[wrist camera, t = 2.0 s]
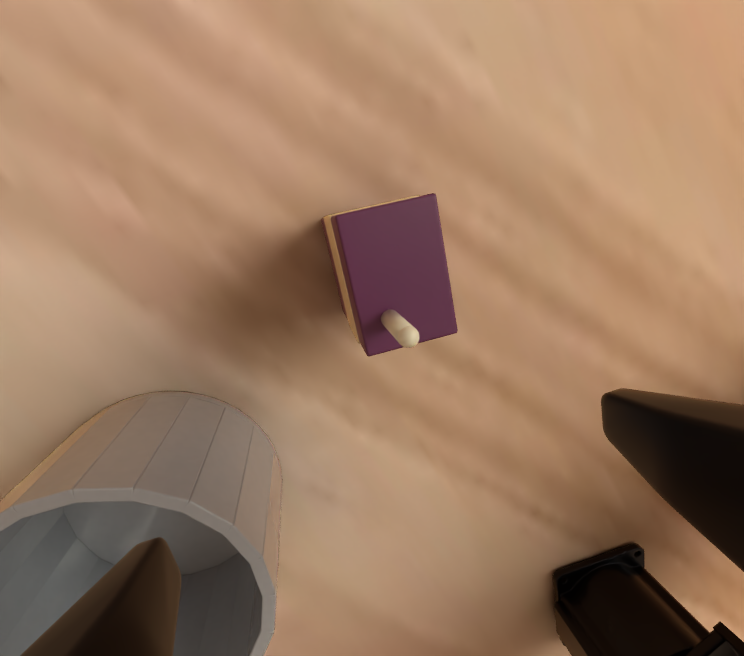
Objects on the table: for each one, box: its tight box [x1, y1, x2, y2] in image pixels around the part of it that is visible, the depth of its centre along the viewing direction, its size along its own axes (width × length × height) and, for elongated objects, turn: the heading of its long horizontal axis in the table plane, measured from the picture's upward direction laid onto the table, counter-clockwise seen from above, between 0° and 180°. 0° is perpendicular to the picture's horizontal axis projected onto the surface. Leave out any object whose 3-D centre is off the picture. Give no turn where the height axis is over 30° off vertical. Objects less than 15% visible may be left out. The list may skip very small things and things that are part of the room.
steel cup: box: [0, 391, 283, 656], centre depth 17 cm, size 11×11×8 cm
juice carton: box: [321, 193, 457, 356], centre depth 15 cm, size 3×5×10 cm
